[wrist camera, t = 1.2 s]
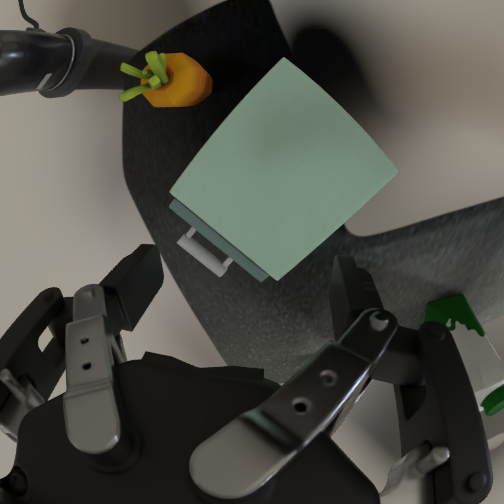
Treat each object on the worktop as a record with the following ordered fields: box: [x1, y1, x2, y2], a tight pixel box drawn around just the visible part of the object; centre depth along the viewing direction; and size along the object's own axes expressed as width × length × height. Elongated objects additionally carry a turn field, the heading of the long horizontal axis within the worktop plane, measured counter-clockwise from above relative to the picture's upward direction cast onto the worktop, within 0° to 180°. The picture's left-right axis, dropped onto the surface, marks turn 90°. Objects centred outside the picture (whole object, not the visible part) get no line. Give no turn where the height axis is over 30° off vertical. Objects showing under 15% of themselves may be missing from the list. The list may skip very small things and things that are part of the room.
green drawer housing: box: [169, 57, 399, 281], centre depth 25 cm, size 15×13×10 cm
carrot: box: [119, 51, 213, 107], centre depth 20 cm, size 5×5×15 cm
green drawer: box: [169, 197, 269, 282], centre depth 27 cm, size 18×11×8 cm, turn 139°
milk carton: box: [425, 294, 504, 416], centre depth 27 cm, size 9×9×20 cm
